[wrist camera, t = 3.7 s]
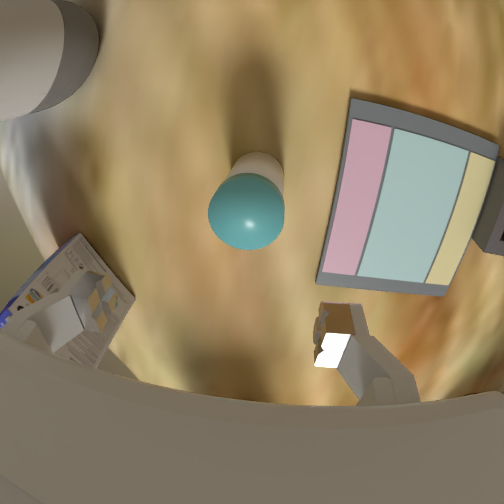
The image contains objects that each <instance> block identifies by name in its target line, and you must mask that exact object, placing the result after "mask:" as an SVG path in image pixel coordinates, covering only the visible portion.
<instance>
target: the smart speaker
mask: <svg viewBox="0 0 504 504" xmlns="http://www.w3.org/2000/svg"><path fill="white" fill-rule="evenodd" d="M98 47H99V35H98V30H97V27H96V24H95V22H94V20H93V18H92V17H91V15H90V14H89V13H88V12H87V11H86V10H84V9H83V8H82V7H80V6H78V5H76V4H74V3H71V2H68V1H64V0H0V121H2V120H6V119H10V118H15V117H19V116H23V115H27V114H31V113H34V112H38V111H41V110H44V109H47V108H50V107H52V106H55V105H57V104H58V103H60V102H62V101H64V100H65V99H67V98H68V97H70V96H71V95H72V94H73V93H74V92H76V91H77V90H78V89H79V88H80V86H81V85H82V84H83V83H84V82H85V80H86V79H87V77H88V76H89V74H90V72H91V70H92V68H93V66H94V64H95V61H96V57H97V53H98Z"/></svg>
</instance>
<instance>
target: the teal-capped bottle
mask: <svg viewBox="0 0 504 504" xmlns="http://www.w3.org/2000/svg"><path fill="white" fill-rule="evenodd" d="M283 192H284V172H283V169H282V167H281V165H280V163H279V162H278V161H277V160H276V159H275V158H274V157H273V156H271V155H269V154H267V153H263V152H250V153H247V154H245V155H243V156H242V157H240V158H239V159H238V160H237V161H236V162H235V164H234V166H233V167H232V169H231V171H230V172H229V174H228V176H227V177H226V179H225V181H224V182H223V183H222V184H221V185H220V186H219V187H218V189H217V191H216V192H215V194H214V196H213V198H212V199H211V201H210V204H209V208H208V218H209V223H210V225H211V228H212V230H213V231H214V233H215V234H216V235H217V236H218V238H220V239H221V240H222V241H223V242H225V243H226V244H228V245H230V246H232V247H235V248H238V249H243V250H254V249H259V248H262V247H264V246H267V245H268V244H270V243H271V242H273V241H274V240H275V239H276V238H277V237H278V235H279V234H280V232H281V230H282V227H283V224H284V209H285V206H284V199H283Z"/></svg>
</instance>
